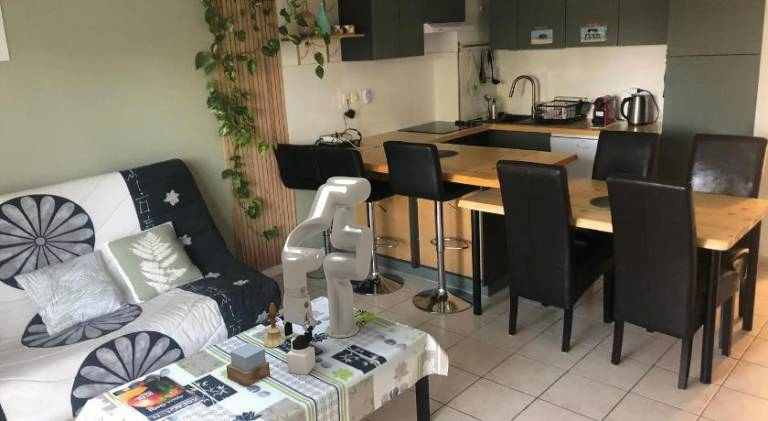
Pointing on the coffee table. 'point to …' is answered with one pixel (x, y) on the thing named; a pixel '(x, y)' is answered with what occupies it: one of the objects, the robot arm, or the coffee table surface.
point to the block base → (248, 374)
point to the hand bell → (273, 331)
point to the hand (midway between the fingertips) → (298, 338)
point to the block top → (248, 357)
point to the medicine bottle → (300, 356)
